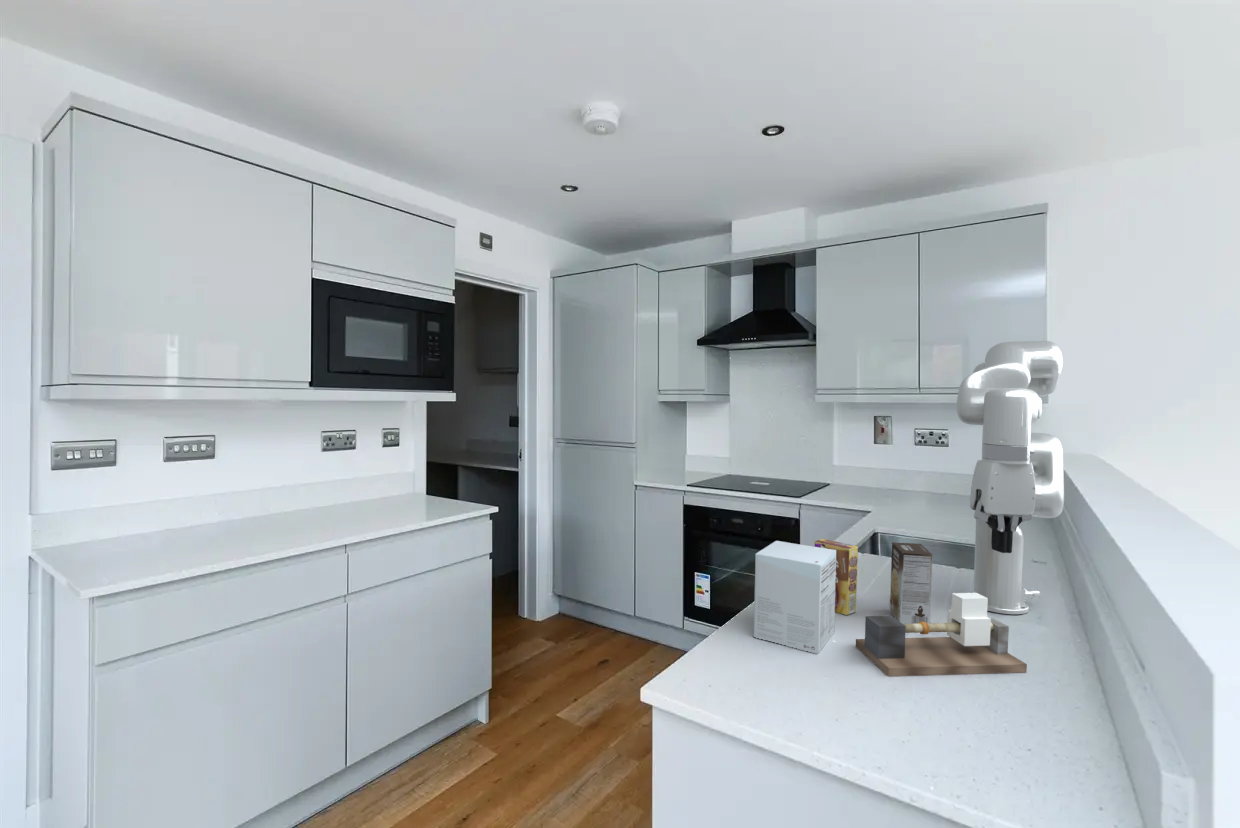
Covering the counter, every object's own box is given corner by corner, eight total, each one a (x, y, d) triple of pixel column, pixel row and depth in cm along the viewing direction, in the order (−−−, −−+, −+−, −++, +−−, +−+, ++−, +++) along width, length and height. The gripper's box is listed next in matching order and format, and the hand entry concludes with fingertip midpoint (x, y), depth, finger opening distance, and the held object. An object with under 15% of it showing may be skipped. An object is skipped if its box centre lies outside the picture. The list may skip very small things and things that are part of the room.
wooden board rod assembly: (979, 643, 117) (981, 606, 117) (1026, 672, 105) (1028, 631, 105) (855, 646, 115) (856, 609, 114) (888, 676, 103) (890, 634, 102)
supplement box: (835, 632, 122) (838, 549, 121) (818, 655, 111) (821, 564, 110) (773, 617, 129) (775, 539, 128) (752, 638, 118) (754, 553, 117)
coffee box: (888, 610, 134) (890, 541, 134) (918, 612, 133) (920, 543, 132) (899, 625, 125) (901, 552, 125) (931, 628, 124) (934, 554, 124)
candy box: (857, 612, 133) (859, 545, 132) (847, 616, 130) (849, 548, 130) (822, 600, 140) (823, 537, 139) (811, 604, 137) (813, 540, 137)
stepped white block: (971, 634, 113) (973, 590, 113) (989, 645, 108) (991, 600, 108) (946, 634, 112) (948, 591, 112) (964, 646, 108) (966, 600, 107)
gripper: (1027, 452, 114) (1023, 545, 114) (954, 451, 112) (951, 546, 113) (1059, 456, 106) (1054, 556, 107) (982, 456, 105) (978, 557, 106)
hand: (1001, 550), depth 110 cm, fingers closed
